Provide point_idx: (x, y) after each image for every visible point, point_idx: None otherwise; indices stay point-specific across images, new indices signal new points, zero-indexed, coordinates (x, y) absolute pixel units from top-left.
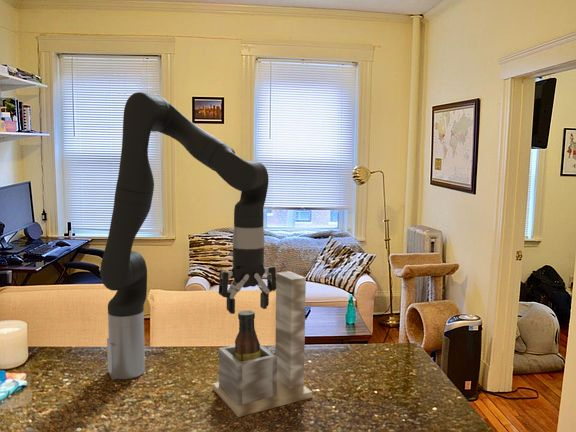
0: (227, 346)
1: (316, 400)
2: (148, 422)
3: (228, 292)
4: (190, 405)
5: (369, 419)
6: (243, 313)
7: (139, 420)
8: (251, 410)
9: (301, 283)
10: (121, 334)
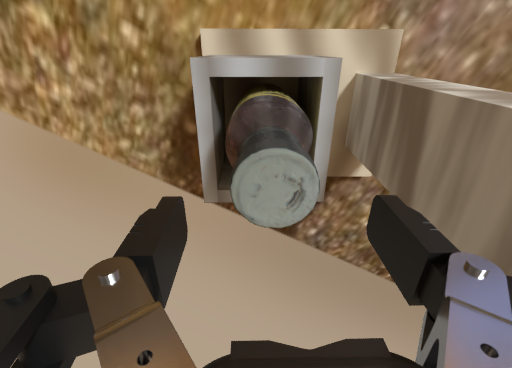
0: (223, 58)
1: (365, 183)
2: (48, 114)
3: (88, 343)
4: (136, 87)
5: None
6: (254, 197)
7: (29, 98)
8: None
9: None
10: None
